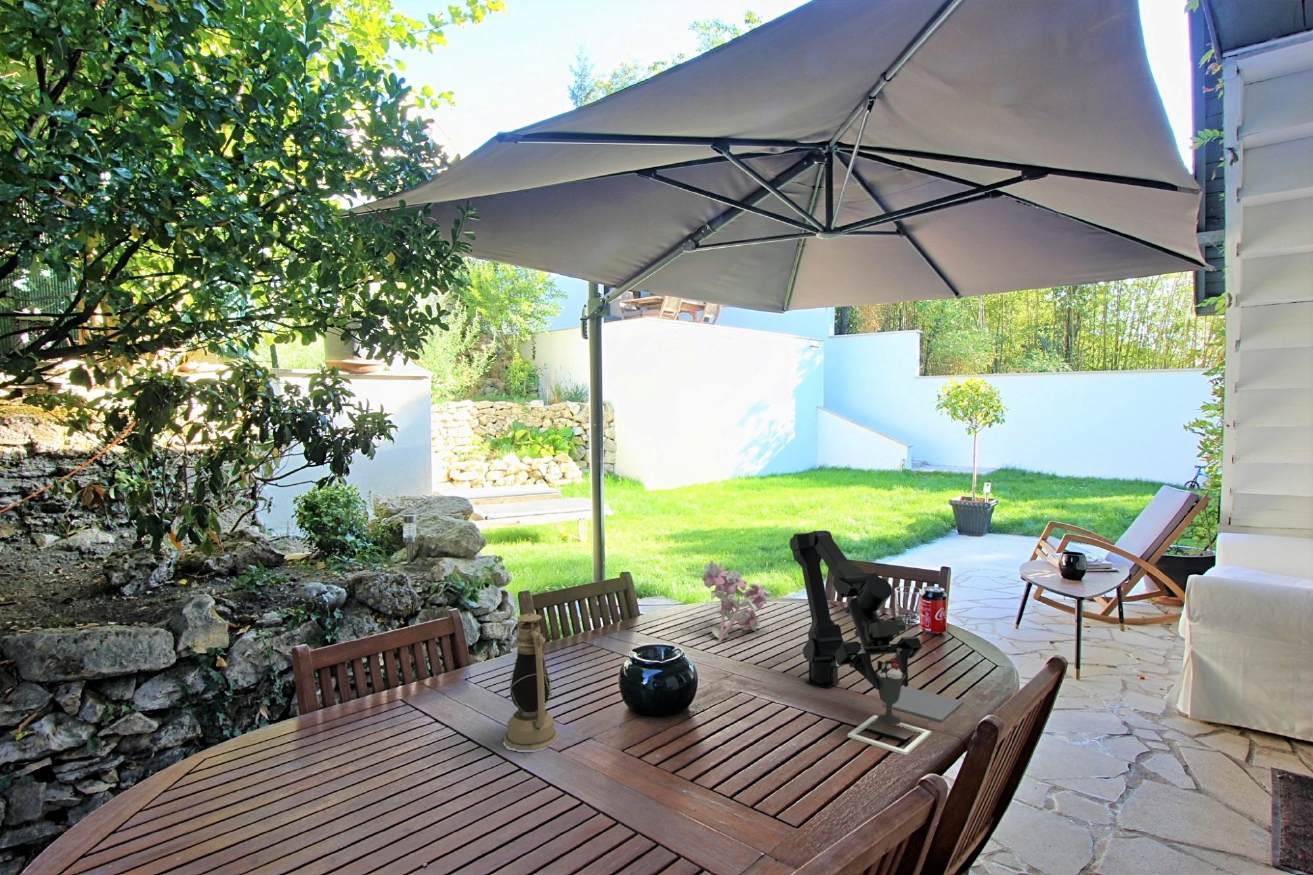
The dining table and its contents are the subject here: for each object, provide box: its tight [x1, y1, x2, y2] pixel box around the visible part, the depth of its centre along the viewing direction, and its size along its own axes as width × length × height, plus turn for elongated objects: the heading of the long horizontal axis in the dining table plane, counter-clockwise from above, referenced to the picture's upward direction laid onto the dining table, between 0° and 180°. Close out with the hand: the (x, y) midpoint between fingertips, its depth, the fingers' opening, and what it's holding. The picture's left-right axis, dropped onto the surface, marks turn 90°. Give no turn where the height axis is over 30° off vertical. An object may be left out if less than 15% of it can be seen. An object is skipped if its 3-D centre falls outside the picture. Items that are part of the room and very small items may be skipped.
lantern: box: [503, 600, 558, 750], centre depth 156 cm, size 14×12×30 cm
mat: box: [881, 686, 964, 723], centre depth 174 cm, size 14×14×1 cm
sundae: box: [874, 653, 906, 726], centre depth 157 cm, size 7×7×15 cm
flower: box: [702, 559, 772, 643], centre depth 228 cm, size 20×22×25 cm
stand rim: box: [847, 714, 932, 756], centre depth 157 cm, size 13×13×1 cm
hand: (892, 687), depth 156 cm, fingers closed on sundae, 6 cm apart
